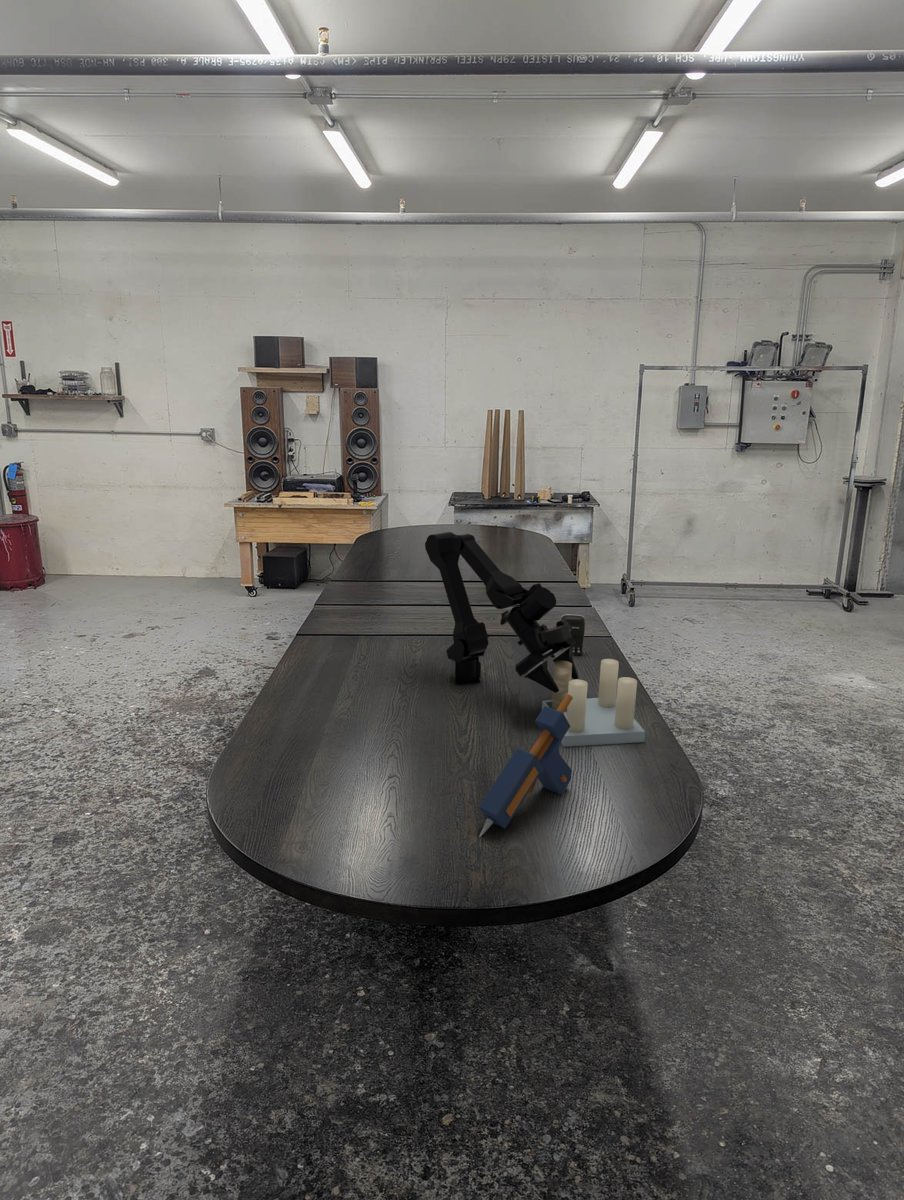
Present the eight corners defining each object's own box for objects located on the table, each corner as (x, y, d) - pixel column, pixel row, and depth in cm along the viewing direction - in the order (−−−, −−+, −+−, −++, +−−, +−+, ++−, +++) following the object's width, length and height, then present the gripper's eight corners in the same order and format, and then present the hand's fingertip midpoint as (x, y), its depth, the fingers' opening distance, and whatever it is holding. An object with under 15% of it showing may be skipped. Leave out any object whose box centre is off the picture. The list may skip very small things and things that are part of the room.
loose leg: (555, 720, 169) (558, 667, 165) (548, 713, 172) (551, 661, 169) (571, 719, 170) (574, 666, 166) (565, 711, 173) (568, 660, 170)
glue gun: (497, 864, 135) (466, 827, 125) (569, 726, 148) (545, 683, 139) (525, 877, 131) (495, 839, 121) (596, 734, 145) (574, 690, 135)
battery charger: (558, 655, 208) (560, 617, 205) (558, 650, 212) (560, 613, 209) (583, 657, 208) (586, 618, 204) (582, 652, 211) (585, 614, 208)
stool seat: (563, 746, 157) (567, 690, 153) (541, 710, 174) (544, 658, 170) (644, 741, 159) (649, 686, 155) (614, 706, 176) (619, 655, 172)
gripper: (529, 621, 159) (571, 681, 156) (570, 601, 173) (610, 656, 170) (497, 647, 166) (537, 705, 163) (539, 626, 180) (577, 679, 177)
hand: (567, 685), depth 168 cm, fingers open, 9 cm apart
